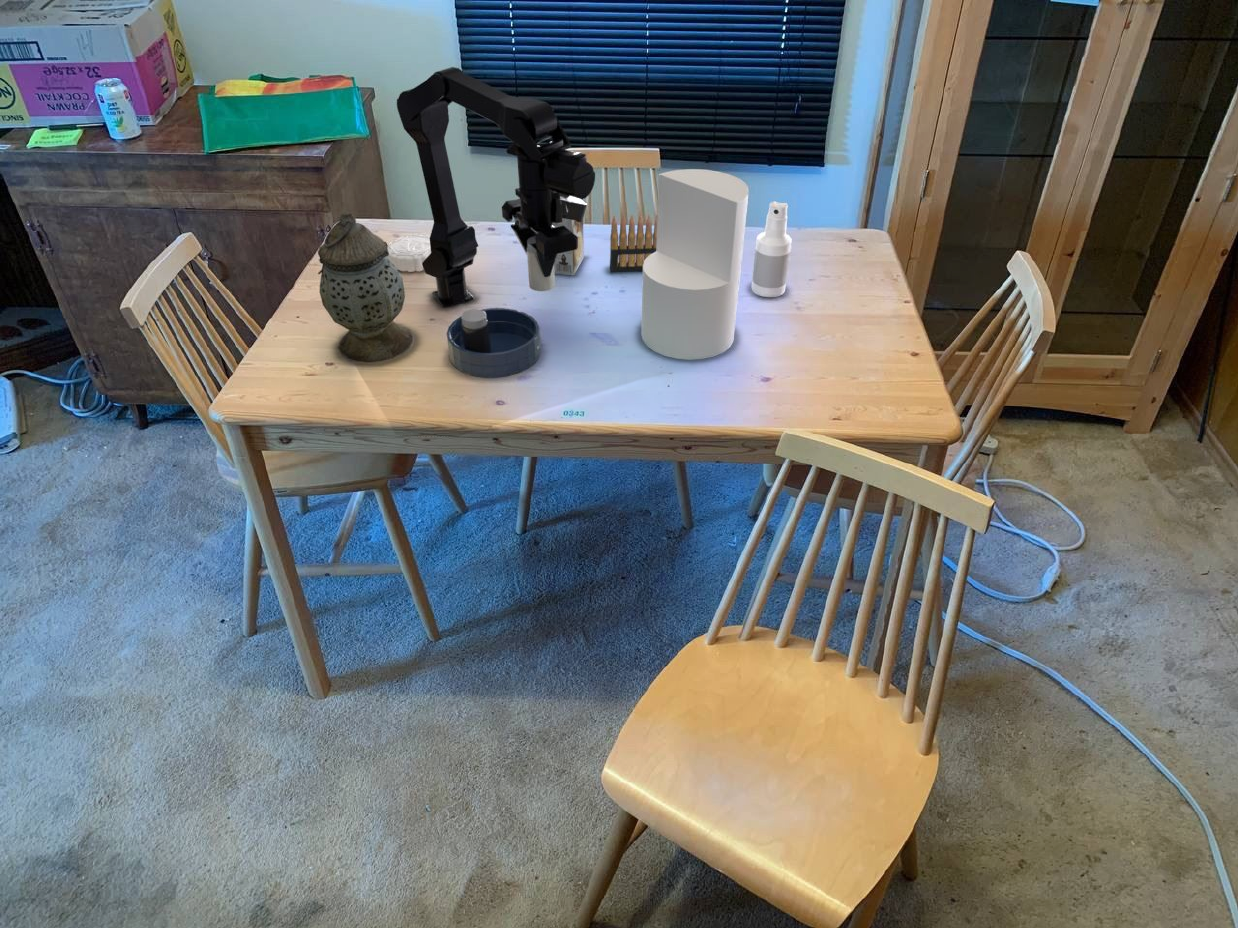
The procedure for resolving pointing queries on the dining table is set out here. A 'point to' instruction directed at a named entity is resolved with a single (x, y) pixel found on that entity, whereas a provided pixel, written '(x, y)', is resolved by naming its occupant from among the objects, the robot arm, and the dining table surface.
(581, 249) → the coffee box
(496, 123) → the robot arm
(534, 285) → the salt shaker
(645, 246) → the ammunition clip
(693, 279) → the cylinder
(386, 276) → the lantern
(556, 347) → the dining table surface
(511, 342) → the bowl
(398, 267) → the mooncake
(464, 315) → the pepper shaker
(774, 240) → the spray bottle
